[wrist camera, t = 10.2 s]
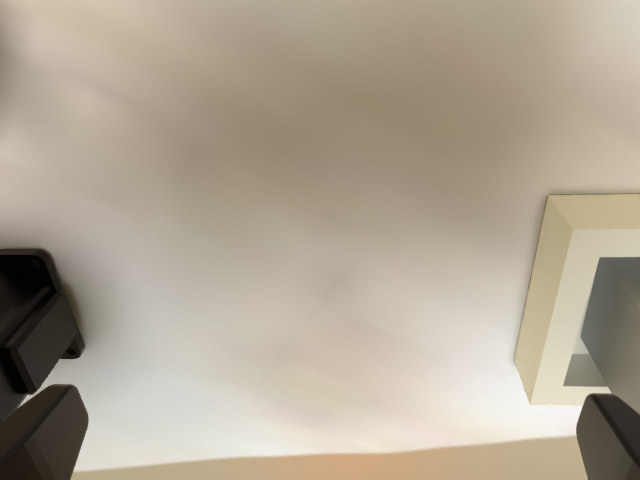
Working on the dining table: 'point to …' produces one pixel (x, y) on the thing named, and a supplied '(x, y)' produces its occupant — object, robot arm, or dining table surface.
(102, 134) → the dining table surface
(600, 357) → the grey tall block
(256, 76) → the dining table surface
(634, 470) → the robot arm
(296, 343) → the dining table surface
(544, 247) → the tray
